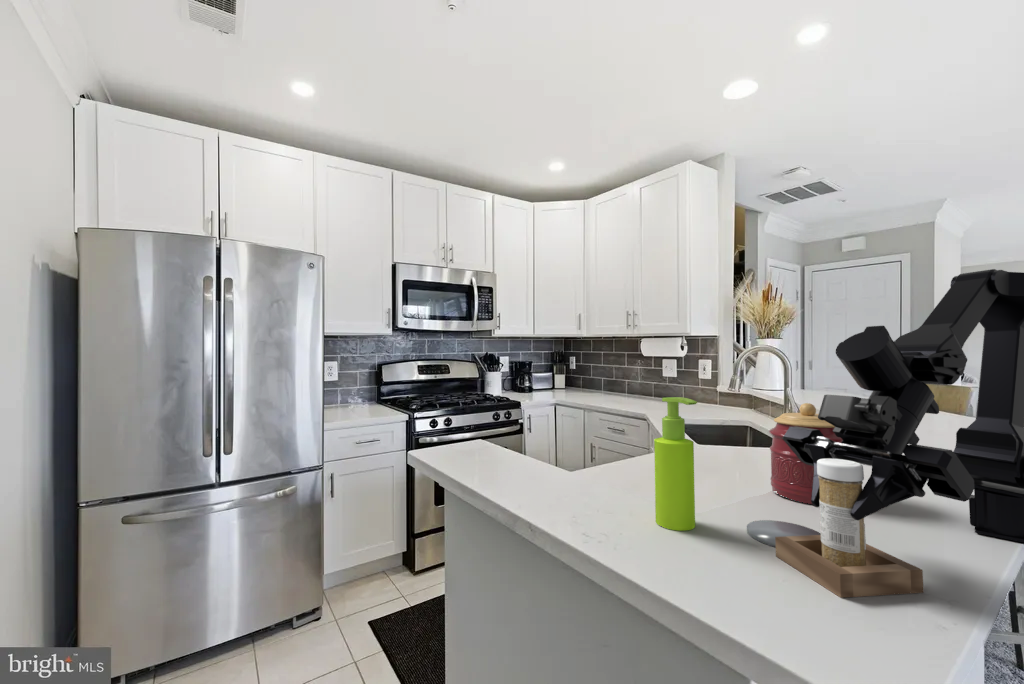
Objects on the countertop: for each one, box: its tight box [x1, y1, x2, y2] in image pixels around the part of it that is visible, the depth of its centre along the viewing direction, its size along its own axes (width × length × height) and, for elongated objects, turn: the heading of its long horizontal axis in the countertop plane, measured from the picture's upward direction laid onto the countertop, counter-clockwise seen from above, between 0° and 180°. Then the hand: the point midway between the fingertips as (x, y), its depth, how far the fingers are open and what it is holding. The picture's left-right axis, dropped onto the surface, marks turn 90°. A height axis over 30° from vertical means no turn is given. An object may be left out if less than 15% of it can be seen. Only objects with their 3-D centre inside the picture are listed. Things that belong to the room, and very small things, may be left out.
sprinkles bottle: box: [817, 458, 867, 567], centre depth 53 cm, size 5×5×14 cm
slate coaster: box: [746, 519, 821, 548], centre depth 63 cm, size 10×10×1 cm
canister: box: [768, 402, 842, 505], centre depth 82 cm, size 13×13×18 cm
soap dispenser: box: [653, 396, 698, 532], centre depth 68 cm, size 6×7×20 cm
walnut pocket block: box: [775, 535, 924, 599], centre depth 52 cm, size 10×10×2 cm
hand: (833, 510), depth 52 cm, fingers closed on sprinkles bottle, 4 cm apart
